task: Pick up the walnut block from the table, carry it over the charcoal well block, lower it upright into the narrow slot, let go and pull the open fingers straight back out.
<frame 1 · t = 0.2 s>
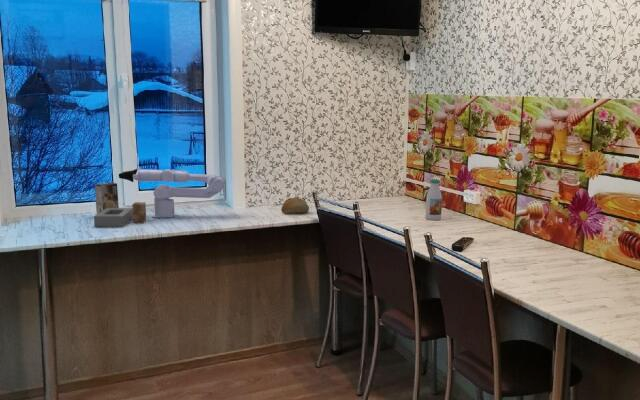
hand: (120, 175, 287), 21 cm above the table, tool horizontal, fingers open, 7 cm apart
milk bottle: (433, 219, 292), on the table
bread roll: (295, 213, 304), on the table
walnut block: (139, 221, 281), on the table
coffee box: (107, 215, 295), on the table
well block: (114, 222, 279), on the table
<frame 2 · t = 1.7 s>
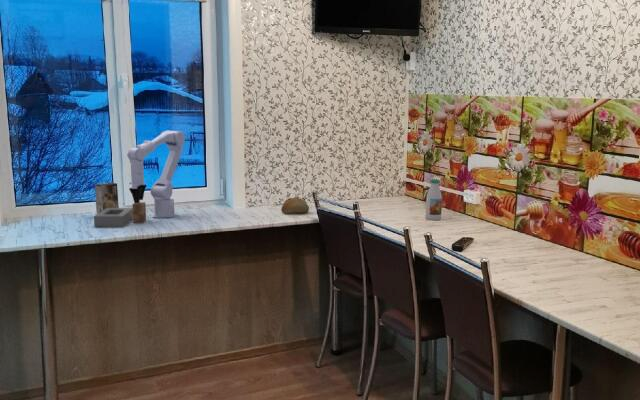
hand: (138, 201, 279), 10 cm above the table, tool pointing down, fingers open, 7 cm apart
nothing on the table moved.
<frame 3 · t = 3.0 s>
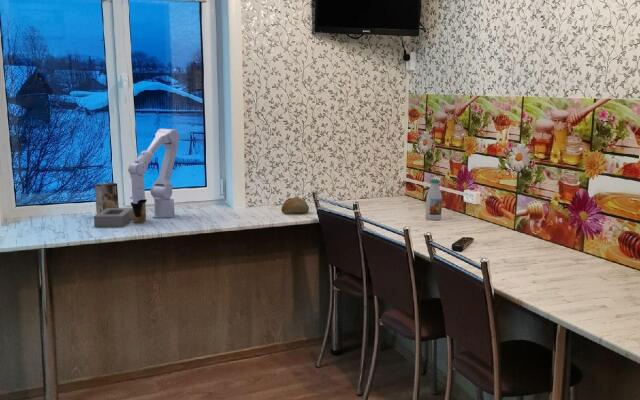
hand: (139, 215, 280), 3 cm above the table, tool pointing down, fingers closed on walnut block, 5 cm apart
walnut block: (139, 221, 281), on the table, touching gripper
everything else where it was.
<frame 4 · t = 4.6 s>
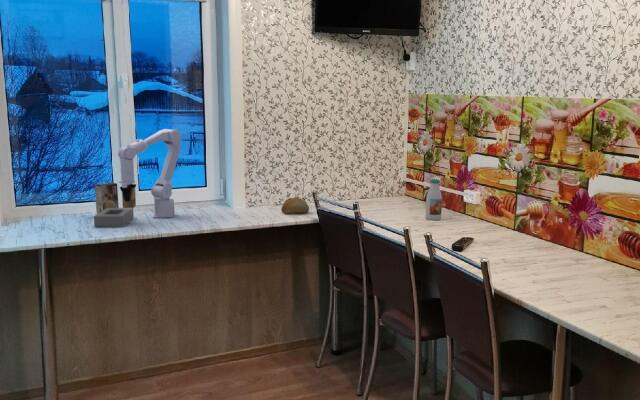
hand: (128, 200, 278), 11 cm above the table, tool pointing down, fingers closed on walnut block, 5 cm apart
walnut block: (129, 206, 278), point 7 cm above the table, touching gripper
everything else where it was.
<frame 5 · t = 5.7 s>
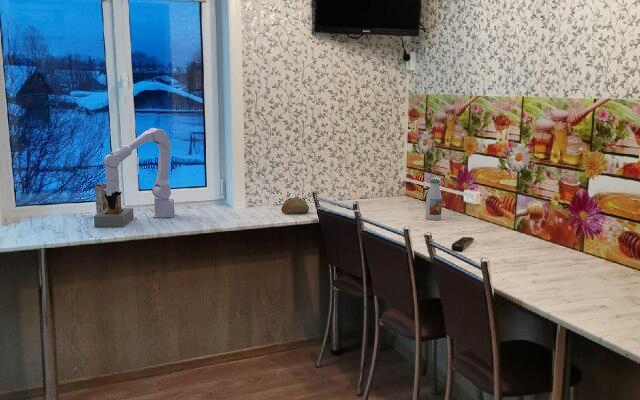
hand: (114, 208, 277), 7 cm above the table, tool pointing down, fingers closed on walnut block, 5 cm apart
walnut block: (114, 214, 278), point 4 cm above the table, touching gripper
everything else where it was.
when the fingers open (4 cm above the table, at t = 6.7 s): walnut block drops 1 cm, resting in well block.
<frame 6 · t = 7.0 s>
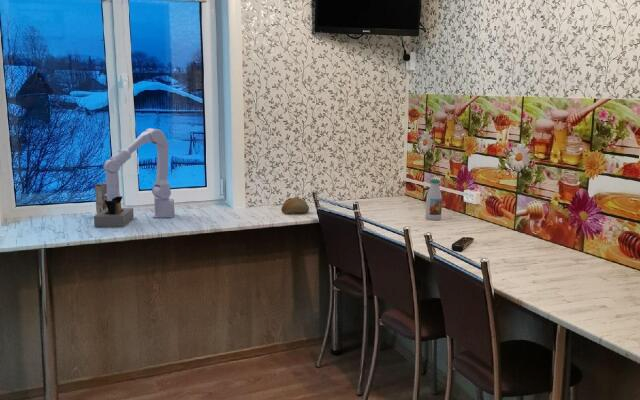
hand: (114, 213, 278), 4 cm above the table, tool pointing down, fingers open, 7 cm apart
walnut block: (115, 222, 279), resting in well block
everything else where it was.
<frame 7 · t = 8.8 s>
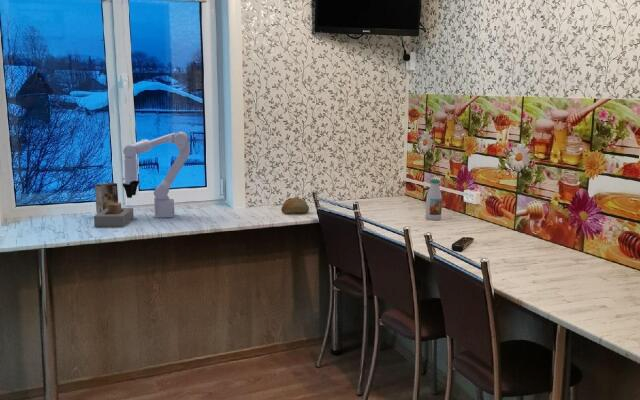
hand: (131, 196, 289), 10 cm above the table, tool pointing down, fingers open, 7 cm apart
nothing on the table moved.
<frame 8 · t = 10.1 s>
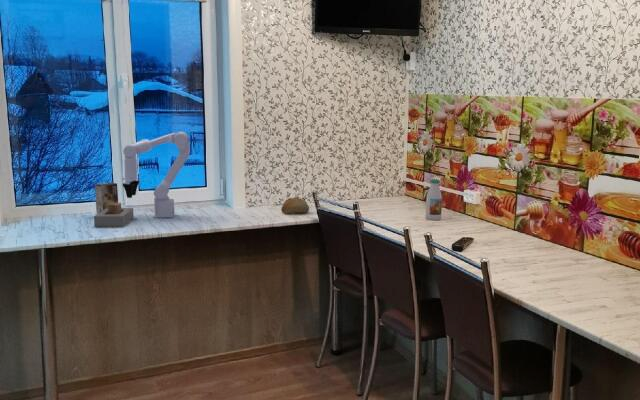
hand: (131, 196, 289), 10 cm above the table, tool pointing down, fingers open, 7 cm apart
nothing on the table moved.
at the end: walnut block 0.2 cm off-centre on the well block, point 0.0 cm above the well block's base; walnut block tilted 0°; the gripper is holding nothing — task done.
